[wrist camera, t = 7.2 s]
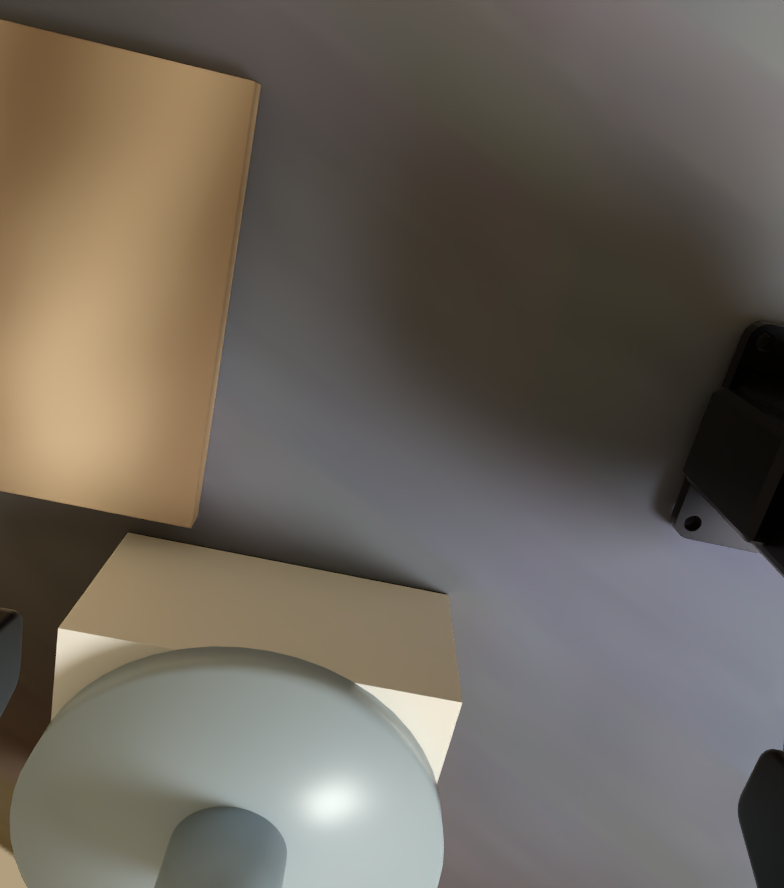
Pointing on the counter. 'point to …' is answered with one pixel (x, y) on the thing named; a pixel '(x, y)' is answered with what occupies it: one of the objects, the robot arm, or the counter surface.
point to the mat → (114, 269)
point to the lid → (226, 782)
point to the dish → (267, 626)
